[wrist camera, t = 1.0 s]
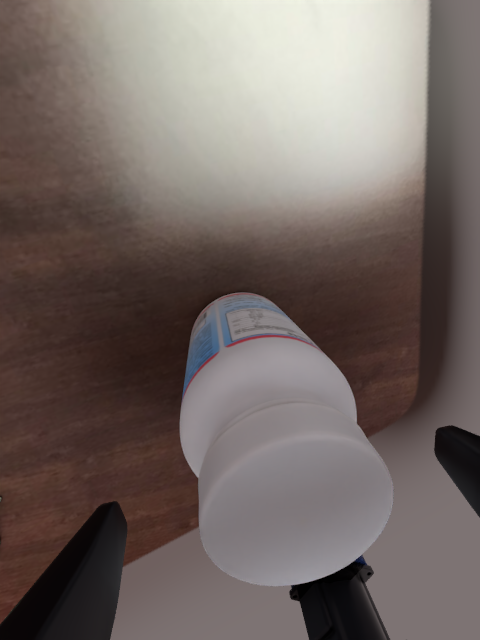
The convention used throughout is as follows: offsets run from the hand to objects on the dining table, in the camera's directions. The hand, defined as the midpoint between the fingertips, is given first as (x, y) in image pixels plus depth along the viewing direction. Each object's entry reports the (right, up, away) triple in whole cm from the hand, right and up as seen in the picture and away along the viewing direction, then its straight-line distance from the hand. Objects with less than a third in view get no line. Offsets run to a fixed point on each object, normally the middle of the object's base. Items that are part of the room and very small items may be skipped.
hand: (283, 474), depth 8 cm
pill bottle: (-1, +3, +9) cm, 10 cm away
